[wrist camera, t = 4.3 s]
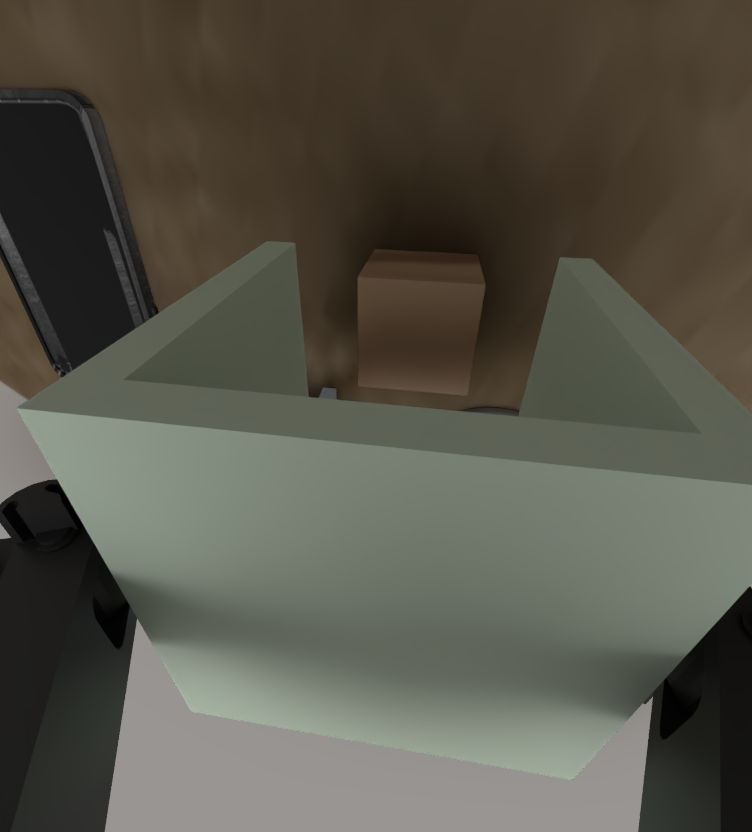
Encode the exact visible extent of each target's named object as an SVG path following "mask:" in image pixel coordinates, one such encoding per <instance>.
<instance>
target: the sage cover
mask: <svg viewBox="0 0 752 832" xmlns="http://www.w3.org/2000/svg"><path fill="white" fill-rule="evenodd" d="M16 409H17V411H18V412H19V414H20V416H21V418H22V419H23V421H24V423H25V425H26V426H27V428H28V429H29V432H30V433H31V435H32V436H33V438H34V440H35V442H36V444H37V445H38V447H39V449H40V450H41V452H42V454H43V456H44V457H45V459H46V461H47V463H48V464H49V466H50V468H51V470H52V471H53V473H54V475H55V476H56V478H57V480H58V482H59V483H60V485H61V487H62V489H63V490H64V492H65V494H66V496H67V497H68V499H69V501H70V503H71V504H72V506H73V508H74V509H75V511H76V513H77V515H78V516H79V518H80V520H81V522H82V523H83V525H84V527H85V528H86V530H87V532H88V534H89V535H90V537H91V539H92V541H93V542H94V544H95V546H96V548H97V549H98V551H99V553H100V554H101V556H102V558H103V560H104V561H105V563H106V565H107V567H108V568H109V570H110V572H111V574H112V575H113V577H114V579H115V580H116V582H117V584H118V586H119V587H120V589H121V591H122V593H123V594H124V596H125V598H126V599H127V601H128V603H129V605H130V606H131V608H132V610H133V612H134V613H135V615H136V617H137V619H138V620H139V622H140V624H141V625H142V627H143V629H144V631H145V632H146V634H147V636H148V637H149V639H150V641H151V643H152V644H153V646H154V648H155V650H156V651H157V653H158V655H159V656H160V658H161V660H162V662H163V663H164V665H165V667H166V669H167V670H168V672H169V674H170V675H171V677H172V679H173V681H174V683H175V684H176V686H177V688H178V689H179V691H180V693H181V695H182V696H183V698H184V700H185V702H186V703H187V705H188V707H189V709H190V710H191V711H192V712H196V713H202V714H208V715H214V716H219V717H224V718H230V719H236V720H241V721H246V722H252V723H258V724H263V725H269V726H274V727H280V728H286V729H291V730H297V731H302V732H308V733H313V734H319V735H324V736H330V737H335V738H341V739H347V740H353V741H358V742H363V743H369V744H374V745H381V746H386V747H391V748H397V749H402V750H408V751H414V752H420V753H425V754H430V755H436V756H441V757H447V758H452V759H458V760H463V761H469V762H474V763H480V764H486V765H491V766H497V767H503V768H508V769H514V770H519V771H525V772H530V773H536V774H541V775H547V776H552V777H558V778H563V779H569V780H573V779H574V778H575V777H576V776H577V774H579V772H580V771H581V770H582V769H583V768H584V767H585V766H586V765H587V764H588V762H590V760H591V759H592V758H593V757H594V756H595V755H596V754H597V753H598V752H599V750H600V749H601V748H602V747H603V746H604V745H605V744H606V743H607V742H608V740H610V738H611V737H612V736H613V735H614V734H615V733H616V732H617V730H619V729H620V728H621V726H622V725H623V724H624V723H625V722H626V721H627V720H628V719H629V717H631V716H632V714H633V713H634V712H635V711H636V710H637V709H638V708H639V707H640V706H641V704H642V703H643V702H644V701H645V700H646V699H647V698H648V697H649V696H650V695H651V694H652V693H653V691H654V690H655V689H656V688H657V687H658V686H659V685H660V684H661V683H662V682H663V680H664V679H665V678H666V677H667V676H668V675H669V674H670V673H671V672H672V671H673V670H674V668H675V667H676V666H677V665H678V664H679V663H680V662H681V661H682V660H683V659H684V657H685V656H686V655H687V654H688V653H689V652H690V651H691V650H692V649H693V648H694V647H695V645H696V644H697V643H698V642H699V641H700V640H701V639H702V638H703V637H704V636H705V634H706V633H707V632H708V631H709V630H710V629H711V628H712V627H713V626H714V625H715V624H716V622H717V621H718V620H719V619H720V618H721V617H722V616H723V615H724V614H725V613H726V611H727V610H728V609H729V608H730V607H731V606H732V605H733V604H734V603H735V602H736V601H737V599H738V598H739V597H740V596H741V595H742V594H743V593H744V592H745V591H746V590H747V588H748V587H749V586H750V585H751V584H752V413H751V412H750V411H749V410H748V409H747V408H746V407H745V406H743V405H742V404H741V403H740V402H739V401H738V400H737V399H736V398H735V397H734V396H733V395H732V394H731V393H730V392H729V391H728V390H727V389H726V388H725V387H724V386H723V385H722V384H721V383H720V382H719V381H718V380H717V379H716V378H715V377H714V376H713V375H712V374H711V373H709V372H708V371H707V370H706V369H705V368H704V367H703V366H702V365H701V364H700V363H699V362H698V361H697V360H696V359H695V358H694V357H693V356H692V355H691V354H690V353H689V352H688V351H687V350H686V349H685V348H684V347H683V346H682V345H681V344H680V343H679V342H678V341H677V340H675V339H674V338H673V337H672V336H671V335H670V334H669V333H668V332H667V331H666V330H665V329H664V328H663V327H662V326H661V325H660V324H659V323H658V322H657V321H656V320H655V319H654V318H653V317H652V316H651V315H650V314H649V313H648V312H647V311H646V310H645V309H644V308H643V307H641V306H640V305H639V304H638V303H637V302H636V301H635V300H634V299H633V298H632V297H631V296H630V295H629V294H628V293H627V292H626V291H625V290H624V289H623V288H622V287H621V286H620V285H619V284H618V283H617V282H616V281H615V280H614V279H613V278H612V277H611V276H610V275H609V274H607V273H606V272H605V271H604V270H603V269H602V268H601V267H600V266H599V265H598V264H597V263H596V262H595V261H594V260H593V259H586V258H568V257H560V258H559V262H558V266H557V270H556V273H555V277H554V281H553V285H552V289H551V293H550V296H549V300H548V304H547V308H546V312H545V316H544V319H543V323H542V327H541V331H540V335H539V339H538V342H537V346H536V350H535V354H534V358H533V362H532V365H531V369H530V373H529V377H528V381H527V384H526V388H525V392H524V396H523V400H522V404H521V407H520V411H519V415H518V417H516V416H506V415H495V414H484V413H474V412H463V411H452V410H442V409H431V408H420V407H409V406H399V405H388V404H377V403H367V402H356V401H345V400H335V399H324V398H313V397H309V393H308V382H307V371H306V360H305V348H304V337H303V326H302V315H301V303H300V292H299V281H298V270H297V258H296V247H295V243H291V242H272V241H267V242H265V243H264V244H262V245H261V246H259V247H258V248H256V249H255V250H253V251H252V252H250V253H249V254H247V255H246V256H244V257H243V258H241V259H240V260H238V261H237V262H235V263H234V264H232V265H231V266H229V267H228V268H226V269H225V270H223V271H222V272H220V273H218V274H217V275H215V276H214V277H212V278H211V279H209V280H208V281H206V282H205V283H203V284H202V285H200V286H199V287H197V288H196V289H194V290H193V291H191V292H190V293H188V294H187V295H185V296H184V297H182V298H181V299H179V300H178V301H176V302H175V303H173V304H172V305H170V306H169V307H167V308H166V309H164V310H163V311H161V312H160V313H158V314H157V315H155V316H154V317H152V318H151V319H149V320H148V321H146V322H145V323H143V324H142V325H140V326H139V327H137V328H136V329H134V330H133V331H131V332H130V333H128V334H127V335H125V336H124V337H122V338H121V339H119V340H118V341H116V342H115V343H113V344H112V345H110V346H109V347H107V348H106V349H104V350H103V351H101V352H100V353H98V354H97V355H95V356H94V357H92V358H91V359H89V360H88V361H86V362H85V363H83V364H82V365H80V366H79V367H77V368H76V369H74V370H73V371H71V372H70V373H68V374H67V375H65V376H64V377H62V378H61V379H59V380H58V381H56V382H55V383H53V384H52V385H50V386H49V387H47V388H46V389H44V390H43V391H41V392H40V393H38V394H37V395H35V396H34V397H32V398H31V399H29V400H28V401H26V402H25V403H23V404H22V405H20V406H19V407H17V408H16Z"/></svg>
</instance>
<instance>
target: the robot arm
mask: <svg viewBox="0 0 752 832" xmlns="http://www.w3.org/2000/svg"><path fill="white" fill-rule="evenodd" d="M0 523H1V525H2V526H3V527H4V529H5V530H6V531H7V533H8V534H9V535H10V536H11V538H7V539H0V832H104V831H105V824H106V818H107V812H108V804H109V799H110V792H111V786H112V779H113V772H114V766H115V759H116V752H117V746H118V740H119V732H120V726H121V720H122V713H123V706H124V700H125V694H126V687H127V681H128V674H129V667H130V660H131V654H132V648H133V641H134V635H135V628H136V621H137V617H136V615H135V613H134V612H133V610H132V608H131V606H130V605H129V603H128V601H127V599H126V598H125V596H124V594H123V593H122V591H121V589H120V587H119V586H118V584H117V582H116V580H115V579H114V577H113V575H112V574H111V572H110V570H109V568H108V567H107V565H106V563H105V561H104V560H103V558H102V556H101V554H100V553H99V551H98V549H97V548H96V546H95V544H94V542H93V541H92V539H91V537H90V535H89V534H88V532H87V530H86V528H85V527H84V525H83V523H82V522H81V520H80V518H79V516H78V515H77V513H76V511H75V509H74V508H73V506H72V504H71V503H70V501H69V499H68V497H67V496H66V494H65V492H64V490H63V489H62V487H61V485H60V483H59V482H58V480H47V481H44V482H40V483H36V484H33V485H31V486H28V487H26V488H24V489H22V490H20V491H18V492H16V493H14V494H13V495H12V496H10V497H9V498H8V499H6V500H5V501H4V502H2V503H1V504H0ZM652 697H653V702H652V712H651V721H650V730H649V739H648V748H647V757H646V766H645V775H644V785H643V794H642V803H641V812H640V822H639V831H638V832H752V588H751V587H750V586H749V587H748V588H747V590H746V591H745V592H744V593H743V594H742V595H741V596H740V597H739V598H738V599H737V601H736V602H735V603H734V604H733V605H732V606H731V607H730V608H729V609H728V610H727V611H726V613H725V614H724V615H723V616H722V617H721V618H720V619H719V620H718V621H717V622H716V624H715V625H714V626H713V627H712V628H711V629H710V630H709V631H708V632H707V633H706V634H705V636H704V637H703V638H702V639H701V640H700V641H699V642H698V643H697V644H696V645H695V647H694V648H693V649H692V650H691V651H690V652H689V653H688V654H687V655H686V656H685V657H684V659H683V660H682V661H681V662H680V663H679V664H678V665H677V666H676V667H675V668H674V670H673V671H672V672H671V673H670V674H669V675H668V676H667V677H666V678H665V679H664V680H663V682H662V683H661V684H660V685H659V686H658V687H657V688H656V689H655V690H654V691H653V693H652V694H651V695H650V696H649V697H648V698H647V699H646V700H645V701H644V702H643V703H644V704H646V703H647V702H648V701H649V700H650V699H651V698H652Z"/></svg>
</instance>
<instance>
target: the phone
mask: <svg viewBox="0 0 752 832" xmlns="http://www.w3.org/2000/svg"><path fill="white" fill-rule="evenodd" d="M0 257H1V259H2V261H3V263H4V265H5V267H6V270H7V272H8V274H9V276H10V278H11V280H12V282H13V285H14V287H15V289H16V291H17V293H18V295H19V297H20V299H21V302H22V304H23V306H24V308H25V310H26V312H27V314H28V316H29V319H30V321H31V323H32V325H33V327H34V329H35V331H36V334H37V336H38V338H39V340H40V342H41V344H42V346H43V348H44V351H45V353H46V355H47V357H48V359H49V361H50V363H51V365H52V367H53V369H54V370H55V371H56V372H57V373H58V375H60V376H61V377H64V376H65V375H67V374H68V373H70V372H71V371H73V370H74V369H76V368H77V367H79V366H80V365H82V364H83V363H85V362H86V361H88V360H89V359H91V358H92V357H94V356H95V355H97V354H98V353H100V352H101V351H103V350H104V349H106V348H107V347H109V346H110V345H112V344H113V343H115V342H116V341H118V340H119V339H121V338H122V337H124V336H125V335H127V334H128V333H130V332H131V331H133V330H134V329H136V328H137V327H139V326H140V325H142V324H143V323H145V322H146V321H148V320H149V319H151V318H152V317H154V316H155V315H157V312H156V308H155V305H154V301H153V298H152V294H151V291H150V288H149V284H148V281H147V277H146V274H145V270H144V267H143V263H142V260H141V256H140V253H139V249H138V246H137V243H136V239H135V236H134V232H133V229H132V225H131V222H130V218H129V215H128V211H127V208H126V204H125V201H124V198H123V194H122V191H121V187H120V184H119V180H118V177H117V173H116V170H115V166H114V163H113V159H112V156H111V153H110V149H109V146H108V142H107V139H106V135H105V132H104V128H103V125H102V122H101V119H100V117H99V114H98V113H97V111H96V110H95V108H94V107H93V105H92V104H91V103H90V102H89V101H88V100H87V99H86V98H85V97H84V96H82V95H80V94H78V93H77V92H72V91H66V90H57V89H0Z"/></svg>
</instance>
